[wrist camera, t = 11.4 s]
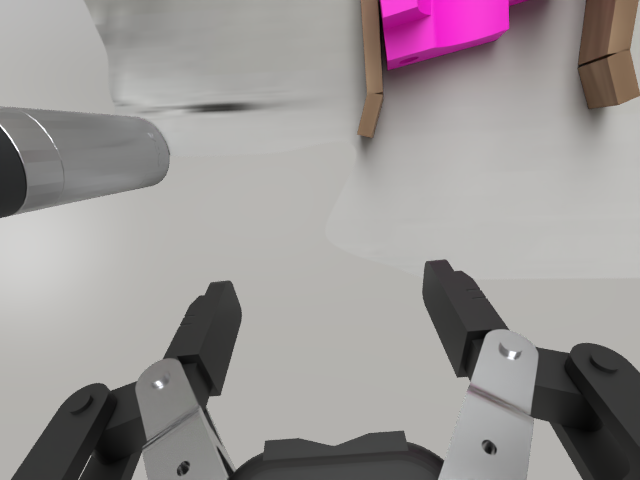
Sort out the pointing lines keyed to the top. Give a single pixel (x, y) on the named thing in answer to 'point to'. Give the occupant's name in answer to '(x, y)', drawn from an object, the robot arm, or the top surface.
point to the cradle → (596, 49)
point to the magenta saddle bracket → (439, 27)
